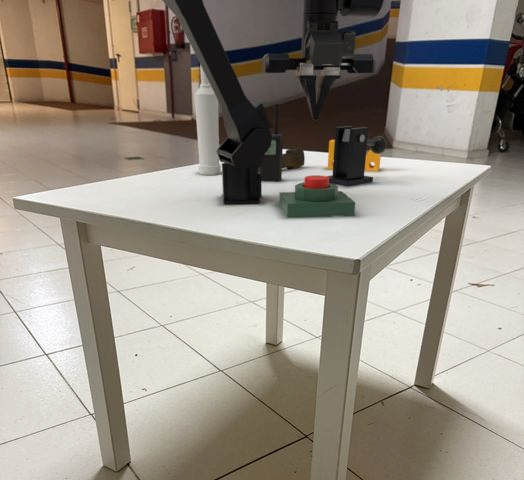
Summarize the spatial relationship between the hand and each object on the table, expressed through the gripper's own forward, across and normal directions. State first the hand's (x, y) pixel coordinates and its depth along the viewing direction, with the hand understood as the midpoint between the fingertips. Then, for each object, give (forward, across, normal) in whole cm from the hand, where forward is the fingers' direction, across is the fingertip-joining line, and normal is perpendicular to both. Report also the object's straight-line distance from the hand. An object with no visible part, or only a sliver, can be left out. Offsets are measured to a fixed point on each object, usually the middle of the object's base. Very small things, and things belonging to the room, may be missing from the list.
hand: (315, 119), depth 89 cm
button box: (+13, -2, -13) cm, 18 cm away
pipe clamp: (+13, +16, +28) cm, 35 cm away
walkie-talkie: (+13, -6, +15) cm, 21 cm away
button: (+9, -2, -13) cm, 16 cm away
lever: (+7, +14, +13) cm, 20 cm away
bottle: (+13, -19, +26) cm, 35 cm away
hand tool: (+13, -3, +28) cm, 31 cm away
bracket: (+13, +10, +11) cm, 20 cm away
